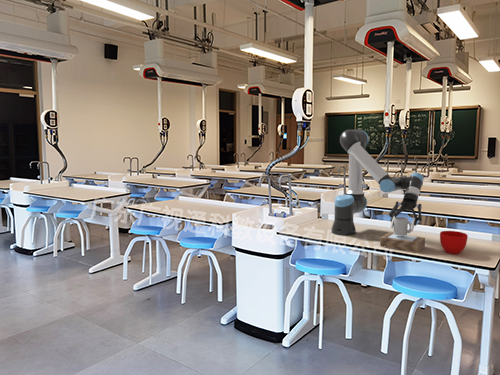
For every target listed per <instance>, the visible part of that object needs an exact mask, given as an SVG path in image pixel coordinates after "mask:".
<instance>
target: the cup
mask: <svg viewBox="0 0 500 375" xmlns="http://www.w3.org/2000/svg"><path fill="white" fill-rule="evenodd" d="M408 225H409V226H408ZM411 225H412V221H409V219H408V218H407V217H404V216H396V217H395V218H394V226H393V233H394V234H395V235H399V236H405V235H408V234H410V233H411V232H412V231H411V229H410V228H411ZM408 227H409V228H408Z"/></svg>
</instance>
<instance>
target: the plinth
mask: <svg viewBox="0 0 500 375" xmlns="http://www.w3.org/2000/svg"><path fill="white" fill-rule="evenodd" d="M379 238H380V239H379V246H380V245H381V246H385V247H384V248H387V247H389V249H393V248H394V250H400V251H405V250H406V252H411V251H412V252H411V253H417V252H418V253H419V252H420V251H422V250H423V249H424V248H425V246H426V244H425V243H426V237H422V236H415V235H408V234H407V235H405V236H399V235H395V234H394V232H387V233H386V234H384V235H382V236H380V237H379ZM381 246H380V247H381Z"/></svg>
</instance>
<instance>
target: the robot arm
mask: <svg viewBox="0 0 500 375" xmlns="http://www.w3.org/2000/svg"><path fill="white" fill-rule="evenodd" d="M339 137H340V138H339V144H340V145H341V147H342V148H343V149H344V151H345V152H346V153H347V154H348V190H347V191H346V192H345V194H340V195H337V196H335V198H334V219H333V222H332V226H331V233H332V234H334V235H339V236H350V235H351V236H352V235H355V234H357V229H356V225H355V223H354V222H355V221H354V214H359V213H361V212H363V211H364V210H365V209H366V207H367V206H368V200H367V197H366V195H365V192H364V191H363V168H364V170H365V171H367V173H368V174H369V176H371V177H372V178H373V179H374V180H375V181H376V183H377V184H378V186H379V190H380V191H381V192H382V193H392V192H396V191H401V190H402V191H403V190H405V192H404V195H403V198H402V201H401V202H399V201H396V202H395V205H394V206H393V207H392V209H391V210H390V212H389V213H388V216H389V218H390V228H391V229H393V230H394V218H395V217H399V215H400V214H401V213H402V212H404V211H410V212H412V215H413V217H414V218H412V221H411V223H412V225H411V228H410V227H409V228H410V229H411V232H413V231H414V227H415V226H417V224H418V221H420V222H421V221H422V219H423V218H422V208H423V206H422V203H418V200H419V196H420V194H421V189H422V186H423V184H424V183H423V182H424V175H423V174H421V173H420V172H413V173H411V174H410V175H409V176H397V177H396V176H392V177H391V176H390V175H389V174H388V173H387V172H386V171H385V169H384V168H382V166H381V164H379V163H378V162H377V161H376V159H374V158H373V157H372V155H371V154H369V153H368V151H367V150H366V147H367V145H368V144H369V140H370V137H369V135H368V133H367V132H366V131H365V130H362V129H358V128H357V129H346V130H344V131H343V132H342V133H341V134H340V136H339ZM416 207H417V208H416ZM415 208H416V209H417V211H418V212H417V213H418V216H417V213H416V211H415Z"/></svg>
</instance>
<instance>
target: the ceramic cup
mask: <svg viewBox="0 0 500 375" xmlns="http://www.w3.org/2000/svg"><path fill="white" fill-rule="evenodd" d="M439 241H440V245H441V247H442V249H443V250H444V252H445V253H447V254H450V253H451V254H453V255H458V254H459V255H460V253H462V252H463V251H464V249H465V248H466V246H467V243H468V233H465V232H461V231H455V230H444V231H440V232H439ZM451 254H450V255H451Z"/></svg>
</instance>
